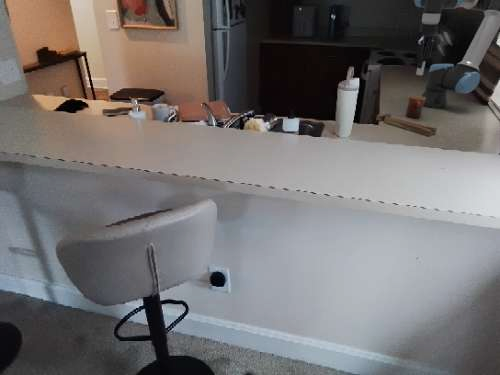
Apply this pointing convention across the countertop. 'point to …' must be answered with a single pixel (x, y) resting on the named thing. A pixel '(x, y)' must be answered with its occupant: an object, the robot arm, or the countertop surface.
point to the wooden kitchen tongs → (403, 124)
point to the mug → (415, 106)
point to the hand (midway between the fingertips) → (419, 74)
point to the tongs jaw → (419, 125)
